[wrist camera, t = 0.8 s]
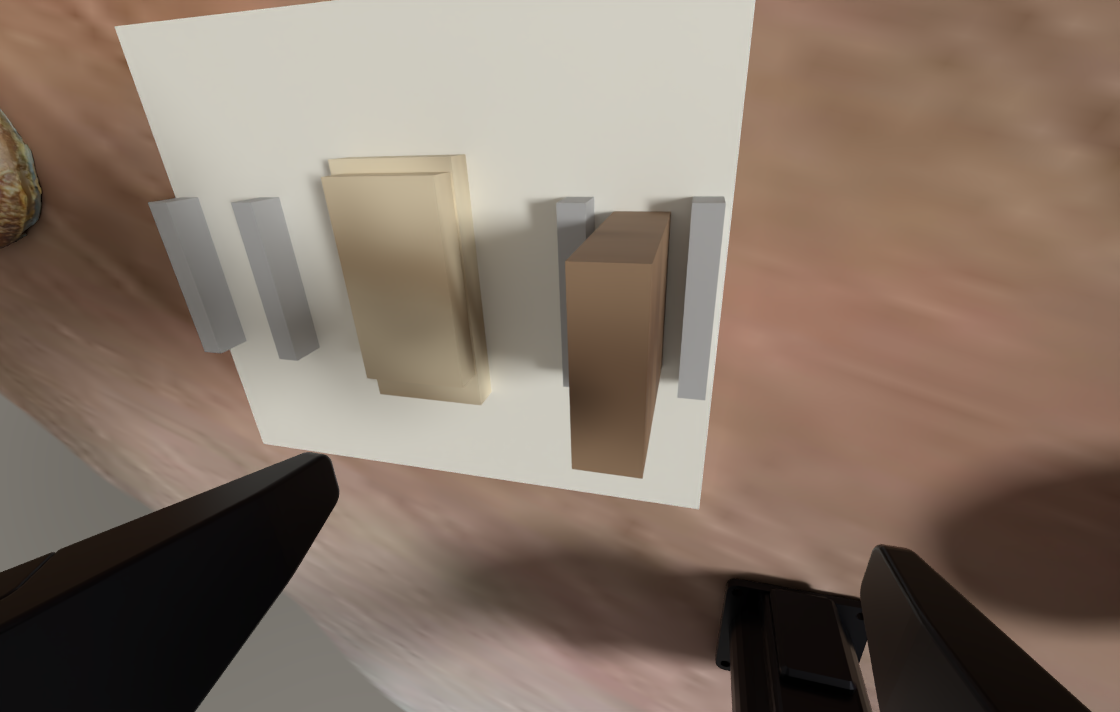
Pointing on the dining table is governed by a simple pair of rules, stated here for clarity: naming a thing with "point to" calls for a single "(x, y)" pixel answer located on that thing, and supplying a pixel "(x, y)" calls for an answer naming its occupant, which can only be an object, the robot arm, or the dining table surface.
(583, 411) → the walnut panel
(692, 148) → the rack
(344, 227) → the offcut stack
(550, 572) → the dining table surface
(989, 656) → the robot arm
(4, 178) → the bread roll
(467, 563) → the dining table surface
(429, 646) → the dining table surface
